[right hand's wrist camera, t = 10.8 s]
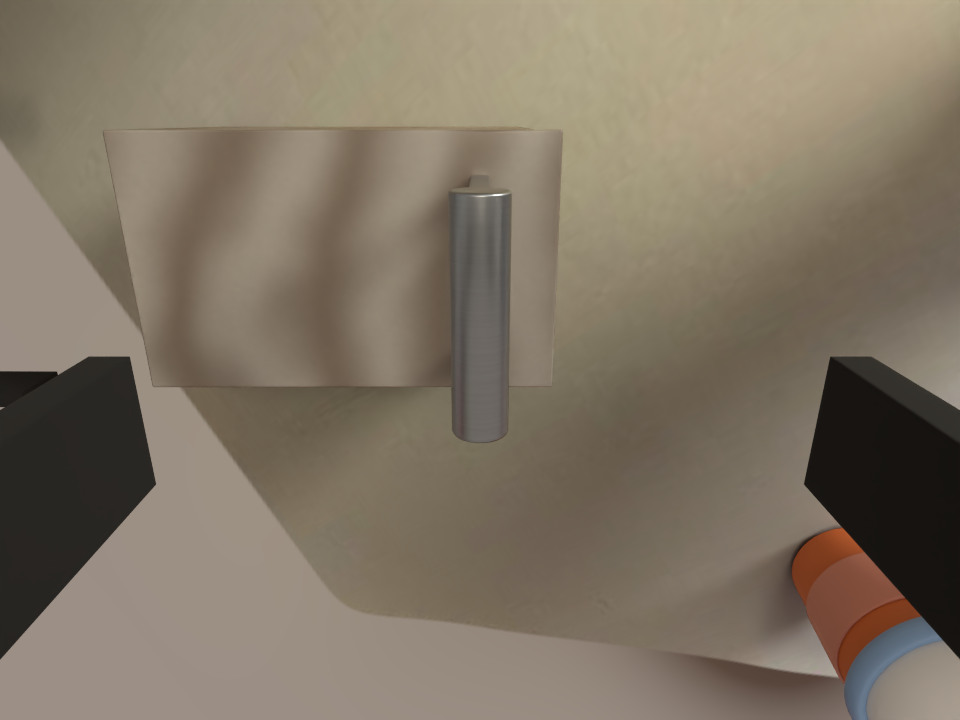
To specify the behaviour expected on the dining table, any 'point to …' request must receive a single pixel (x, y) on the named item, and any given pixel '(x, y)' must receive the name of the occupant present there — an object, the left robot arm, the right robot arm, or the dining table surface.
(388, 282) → the lid
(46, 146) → the dining table surface
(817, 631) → the cup with straw
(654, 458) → the dining table surface
